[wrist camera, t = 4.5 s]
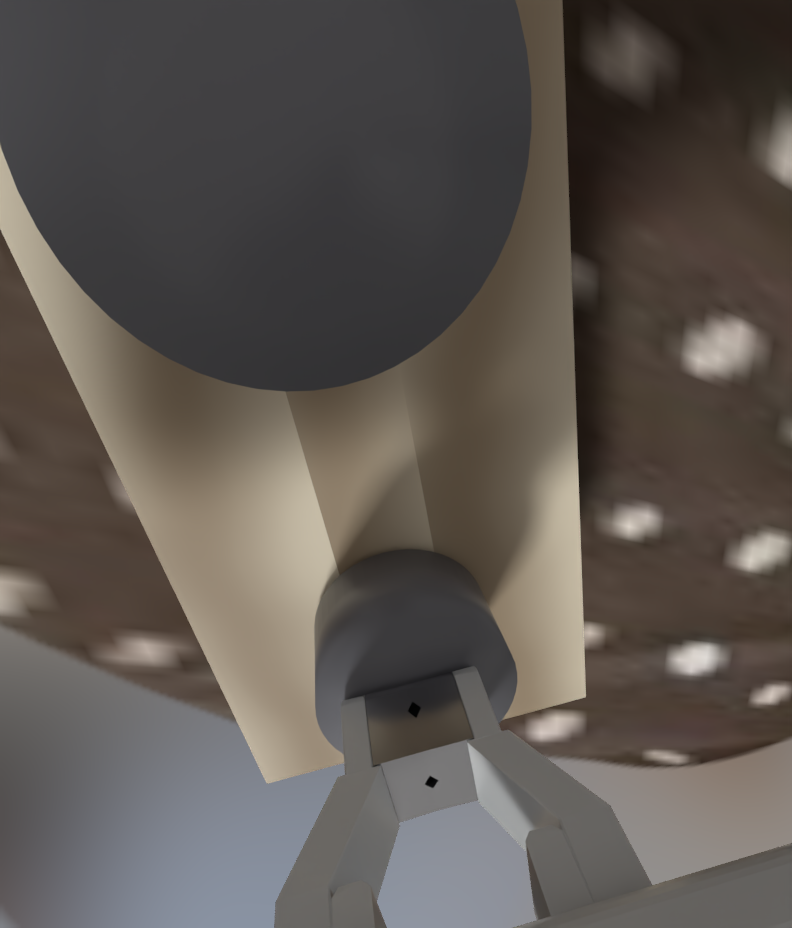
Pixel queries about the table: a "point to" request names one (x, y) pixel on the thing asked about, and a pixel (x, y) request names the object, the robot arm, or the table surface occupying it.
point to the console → (358, 459)
